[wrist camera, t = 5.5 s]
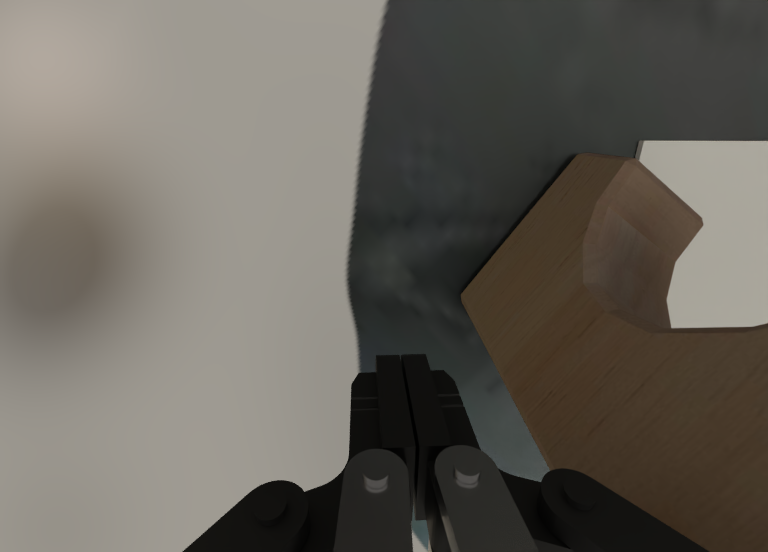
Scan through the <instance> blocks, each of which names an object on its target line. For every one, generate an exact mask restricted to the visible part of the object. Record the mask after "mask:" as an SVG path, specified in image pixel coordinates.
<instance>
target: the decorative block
mask: <svg viewBox="0 0 768 552" xmlns="http://www.w3.org/2000/svg"><path fill="white" fill-rule="evenodd" d="M702 227H703V220H702V217H701V216H700V215H698V214H697V213H696V212H695V211H694V210H693V209H692V208H691V207H690V206H688V205H687V204H686V203H685V202H684V201H683V200H682V199H681V198H680V197H678V196H677V195H676V194H675V193H674V192H673V191H672V190H671V189H670V188H668V187H667V186H666V185H665V184H664V183H663V182H662V181H661V180H660V179H658V178H657V177H656V176H655V175H654V174H653V173H652V172H651V171H650V170H649V169H647V168H646V167H645V166H644V165H643V164H642V163H641V162H640V161H639V160H637V159H636V158H629V157H621V156H612V155H604V154H595V153H581V154H577V155H576V157H575V158H574V159H573V160H572V161H571V163H570V164H569V165H568V166H567V167H566V169H565V170H564V171H563V172H562V173H561V175H560V176H559V177H558V178H557V179H556V180H555V182H554V183H553V184H552V185H551V186H550V188H549V189H548V190H547V191H546V192H545V194H544V195H543V196H542V197H541V198H540V200H539V201H538V202H537V203H536V204H535V206H534V207H533V208H532V209H531V210H530V212H529V213H528V214H527V215H526V216H525V218H524V219H523V220H522V221H521V222H520V224H519V225H518V226H517V227H516V228H515V230H514V231H513V232H512V233H511V234H510V236H509V237H508V238H507V239H506V240H505V242H504V243H503V244H502V245H501V247H500V248H499V249H498V250H497V251H496V253H495V254H494V255H493V256H492V257H491V259H490V260H489V261H488V262H487V263H486V265H485V266H484V267H483V268H482V270H481V271H480V272H479V273H478V274H477V276H476V277H475V278H474V279H473V280H472V282H471V283H470V284H469V285H468V286H467V288H466V289H465V290H464V291H463V292H462V294H461V302H462V304H463V305H464V307H465V309H466V311H467V313H468V315H469V317H470V319H471V321H472V322H473V324H474V326H475V328H476V330H477V332H478V334H479V336H480V338H481V339H482V341H483V343H484V345H485V347H486V349H487V351H488V353H489V355H490V357H491V358H492V360H493V362H494V364H495V366H496V368H497V370H498V372H499V374H500V376H501V378H502V380H503V381H504V383H505V385H506V387H507V389H508V391H509V393H510V395H511V397H512V399H513V401H514V403H515V404H516V406H517V408H518V410H519V412H520V414H521V416H522V418H523V420H524V422H525V423H526V425H527V427H528V429H529V431H530V433H531V435H532V437H533V439H534V440H535V442H536V444H537V446H538V448H539V450H540V452H541V454H542V456H543V457H544V459H545V461H546V463H547V465H548V467H549V469H550V471H551V470H554V469H560V468H565V469H572V470H576V471H579V472H581V473H584V474H586V475H588V476H589V477H591V478H593V479H594V480H596V481H598V482H599V483H601V484H602V485H604V486H606V487H607V488H609V489H610V490H612V491H614V492H615V493H617V494H618V495H620V496H622V497H623V498H625V499H626V500H628V501H630V502H631V503H633V504H634V505H636V506H638V507H639V508H641V509H642V510H644V511H646V512H647V513H649V514H650V515H652V516H654V517H655V518H657V519H658V520H660V521H662V522H663V523H665V524H666V525H668V526H670V527H671V528H673V529H674V530H676V531H678V532H679V533H681V534H682V535H684V536H685V537H687V538H689V539H690V540H692V541H693V542H695V543H697V544H698V545H700V546H701V547H703V548H705V549H706V550H708V551H709V552H768V323H766V324H762V325H758V326H754V327H708V328H671V323H670V317H669V311H668V305H667V296H668V292H669V287H670V283H671V279H672V275H673V271H674V266H675V262H676V261H677V259H678V258H679V257H680V256H681V254H682V253H683V252H684V250H685V249H686V248H687V246H688V245H689V244H690V242H691V241H692V240H693V238H694V237H695V236H696V234H697V233H698V232H699V230H700V229H701V228H702Z"/></svg>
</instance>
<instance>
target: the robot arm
mask: <svg viewBox="0 0 768 552" xmlns="http://www.w3.org/2000/svg"><path fill="white" fill-rule="evenodd" d="M413 506H414V513H415V520H426V521H427V527H428V532H429V545H428V552H709V551H708V550H706V549H705V548H703V547H701V546H700V545H698V544H697V543H695V542H693V541H692V540H690V539H689V538H687V537H685V536H684V535H682V534H681V533H679V532H678V531H676V530H674V529H673V528H671V527H670V526H668V525H666V524H665V523H663V522H662V521H660V520H658V519H657V518H655V517H654V516H652V515H650V514H649V513H647V512H646V511H644V510H642V509H641V508H639V507H638V506H636V505H634V504H633V503H631V502H630V501H628V500H626V499H625V498H623V497H622V496H620V495H618V494H617V493H615V492H614V491H612V490H610V489H609V488H607V487H606V486H604V485H602V484H601V483H599V482H598V481H596V480H594V479H593V478H591V477H589V476H588V475H586V474H584V473H581V472H579V471H576V470H572V469H565V468H560V469H554V470H551V471H549V472H548V473H546V474H545V475H544V477H543V479H542V482H538V481H534V480H529V479H525V478H521V477H517V476H514V475H510V474H508V473H506V472H503V471H502V470H500V469H498V468H497V466H496V464H495V463H494V461H493V460H492V459H491V458H490V457H489V456H488V455H487V454H485V453H484V452H483V451H481V449H480V447H479V445H478V442H477V439H476V437H475V434H474V431H473V429H472V426H471V423H470V421H469V418H468V415H467V413H466V410H465V407H463V402H462V400H461V397H460V396H459V392H458V389H457V386H456V384H455V381H454V380H453V379H452V378H451V377H450V376H449V375H448V374H447V373H446V372H445V371H444V370H434V371H430V367H429V364H428V360H427V357H426V355H425V354H409V355H401V360H400V355H376V372H371V373H359V374H358V375H357V377H356V378H355V380H354V381H353V383H352V386H351V415H350V444H349V458H348V461H347V464H346V466H345V468H344V469H343V471H342V472H341V473H340V474H339V475H338V476H337V477H336V478H335V479H333V480H332V481H330V482H329V483H327V484H325V485H322V486H320V487H317V488H314V489H311V490H308V491H306V492H304V491H303V489H302V488H301V487H299V486H298V485H296V484H295V483H293V482H289V481H284V480H277V481H271V482H268V483H265V484H263V485H260V486H259V487H257V488H255V489H254V490H252V491H251V492H250V493H249V494H248V495H246V496H245V497H244V498H243V499H242V500H241V501H239V502H238V503H237V504H236V505H235V506H234V507H233V508H232V509H230V510H229V511H228V512H227V513H226V514H225V515H224V516H223V517H221V518H220V519H219V520H218V521H217V522H216V523H215V524H214V525H212V526H211V527H210V528H209V529H208V530H207V531H206V532H205V533H203V534H202V535H201V536H200V537H199V538H198V539H196V540H195V541H194V542H193V543H192V544H191V545H190V546H189V547H188V548H186V549H185V550H184V551H183V552H413V544H412V526H411V521H412V511H413Z"/></svg>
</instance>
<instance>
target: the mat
mask: <svg viewBox="0 0 768 552" xmlns="http://www.w3.org/2000/svg"><path fill="white" fill-rule="evenodd" d="M635 158H636V159H637V160H639V161H640V162H641V163H642V164H643V165H644V166H645V167H646V168H647V169H649V170H650V171H651V172H652V173H653V174H654V175H655V176H656V177H657V178H658V179H660V180H661V181H662V182H663V183H664V184H665V185H666V186H667V187H668V188H670V189H671V190H672V191H673V192H674V193H675V194H676V195H677V196H678V197H680V198H681V199H682V200H683V201H684V202H685V203H686V204H687V205H688V206H690V207H691V208H692V209H693V210H694V211H695V212H696V213H697V214H698V215H700V216H701V217H702V220H703V227H702V228H701V229H700V230H699V232H698V233H697V234H696V236H695V237H694V238H693V240H692V241H691V242H690V244H689V245H688V246H687V248H686V249H685V250H684V252H683V253H682V254H681V256H680V257H679V258H678V259H677V261H676V262H675V266H674V271H673V275H672V279H671V283H670V287H669V292H668V296H667V305H668V311H669V317H670V323H671V328H708V327H754V326H758V325H762V324H766V323H768V141H639V143H638V147H637V151H636V155H635Z"/></svg>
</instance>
